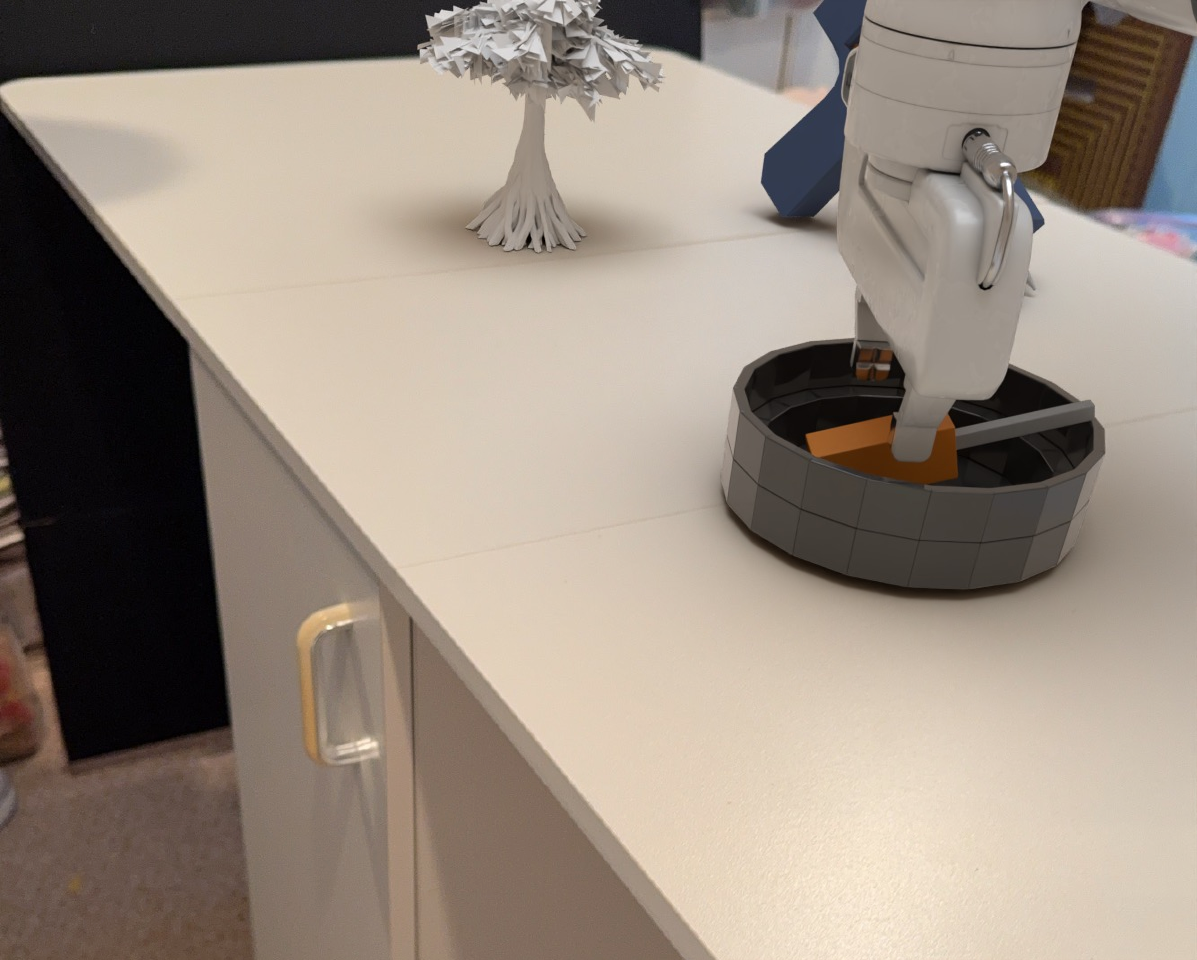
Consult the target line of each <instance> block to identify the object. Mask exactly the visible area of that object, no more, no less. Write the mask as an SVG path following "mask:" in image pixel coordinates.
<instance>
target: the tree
mask: <svg viewBox="0 0 1197 960" xmlns="http://www.w3.org/2000/svg"><path fill="white" fill-rule="evenodd" d="M486 1H487V2H482V1H479V4H477V5H474V6H472V8H469V7H466V8H465V9H463V8H460V7H458V6H456V5H453V7H452V8H453V11H452V10H445V9H441V10H440V12H439V13H437V12H434V15H433V16H431V15H427V14H424V16H425V19H426V23H427V24H426V25H427V29H426V31H428V32H429V36H430V39H429V41H426V42H423V43H419V44H417V51H418V50H419V65H423V64H425V63H428V62H429V64H430V67H431V68H432V69H433V70H434V71H435V72H436V73H438V75H440V76H441V75H443V74H444V73H446V72H447V71H449V72H450V73H451V74H452V75H453V76H455V77H456V78H457V79H459V78H461V79H462V78H463V77H464V75H465V74H466V72H467V71H468V69H469V80H470V81H473V83H474V85H476V79H478V80H479V83H480V84H481V85H482V84H483V81H482V79H483V77H485V76H489V78H490V86H492V85H493V84H494V83H496V82H499V81H500V80H502V79H504V82H501V84H502V85H503V86H502V88H503V89H502V91H503V90H505V88H507V89H508V90H509V95H512V97H513V98H514V99H515V101H516V102H517V101H518V99H519V96H520V98H522V97H523V96H524V111H523V112H524V113H523V114H524V115H523V123H522V128H521V133H520V136H519V140H518V143H517V145H516V148H515V152H514V156H513V161H512V164H511V166H510V168H509V169H508V174H507V178H506V181H505V183H504V185H503V186H501V187H500V188H498V190H496V191H495V192H494V193H493V194H492V195H491V196H490V197H488V198H487V199H486V200H485V201H484V202H483V204H482V207H481V209H480V211H479V213H478V215H476V217H475V218H473V219H472V220H471V221H470V222H469V223H467V225H465V227H464V228H465V229H467V230H476V229H477V228H478V227H480V228H479V229H478V230H477V233H476V234H477V235H478V237H477V239H486V243H487V242H488V245H489V246H490V247H491V246H499V244H500V243H501V246H503V248H502V250H503V251H504V252H510V251H513V250H515V251H519V250H522V249H523V248H524V246H527V238H528V236H529V234H530V237H531V241H530V243H529V245H528V247H527V249H534V252H535V253H542V248H541V246H543V237H544V240H545V245H546V252H549V253H553V250H552V247H553V248H555V247H557V245H562V246H564V247H565V248H567V249H569V250H573V251H574V250H576V249H577V246H576V244H575V242H582V239H581V237H588V235H587V233H586V232H585V230H584V229H583V228H582V227H581V226H580V225H579V224H577V223H576V222H575V221H574V220H573V219H572V218H571V216H570V214H568V211H567V208H566V204H565V203H564V200H563V198H562V196H561V194H560V192H559V190H558V188H557V184H556V183H555V180H554V178H553V175H552V171H551V168H550V163H549V161H548V157H547V155H546V148H545V147H546V146H545V132H546V131H545V130H546V129H545V127H546V110H547V109H546V106H547V105H546V104H547V100H548V99H551V98H553V99H554V101H557V97H558V98H559V103H560V105H562V104H563V103H564V101H565V99H566V98H567V97H568V98H571V99H574V100H575V101H576V102H577V103H578V104H579V106H580V107H581V108H582V110H583V112H584V113H585V115H586V116H587V117H588V119H589V120H590V122H592V121H593V123H594V124H595V122H596V106H597V104H598V106H599V107H600V104H603V101H602V96H604V97H608V98H613V99H617V100H621V98H620V94H621V93H622V94H623V95H625V96H626V95H627V90H628V88H629V84H630V75H631V76H632V77H635V78H637V79H638V81H639V83H640V85H641V87H642V89H643V92H644V91H646V90H647V89H648V88H649V87H650V88H652V89H653V90H654V91H656V92H657V93H659V91H660V86H658V85H657V84H664V82H663V80H664V79H665V78H667V77H665V76H663V73H664V68H662V67H663V63H660V62H653V61H651V60H652V59H653V57H652V56H651V52H650V51H649V52H647V51H644V50H641V48H642V47H643V46H644V44H642V43H641V44H640V43H638V42H639V39H631V38H630V39H629V38H624V35H623V36H620V34H615V33H614V31H615V30H614V29H613V30H611V29H608V25H603V26H599V25H601V24H602V23H603V22H604V21H605V19H602V18H599V17H596V14H597V13H598V12H599V11H600V10H601V9H602V7H601V6H600V5H599V3H601V0H486ZM597 7H598V8H597ZM431 37H432V38H433V39H432V38H431ZM425 47H426V49H425ZM607 75H608V76H609V77H608V76H607ZM502 91H501V92H502ZM599 103H600V104H599ZM580 236H581V237H580Z"/></svg>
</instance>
